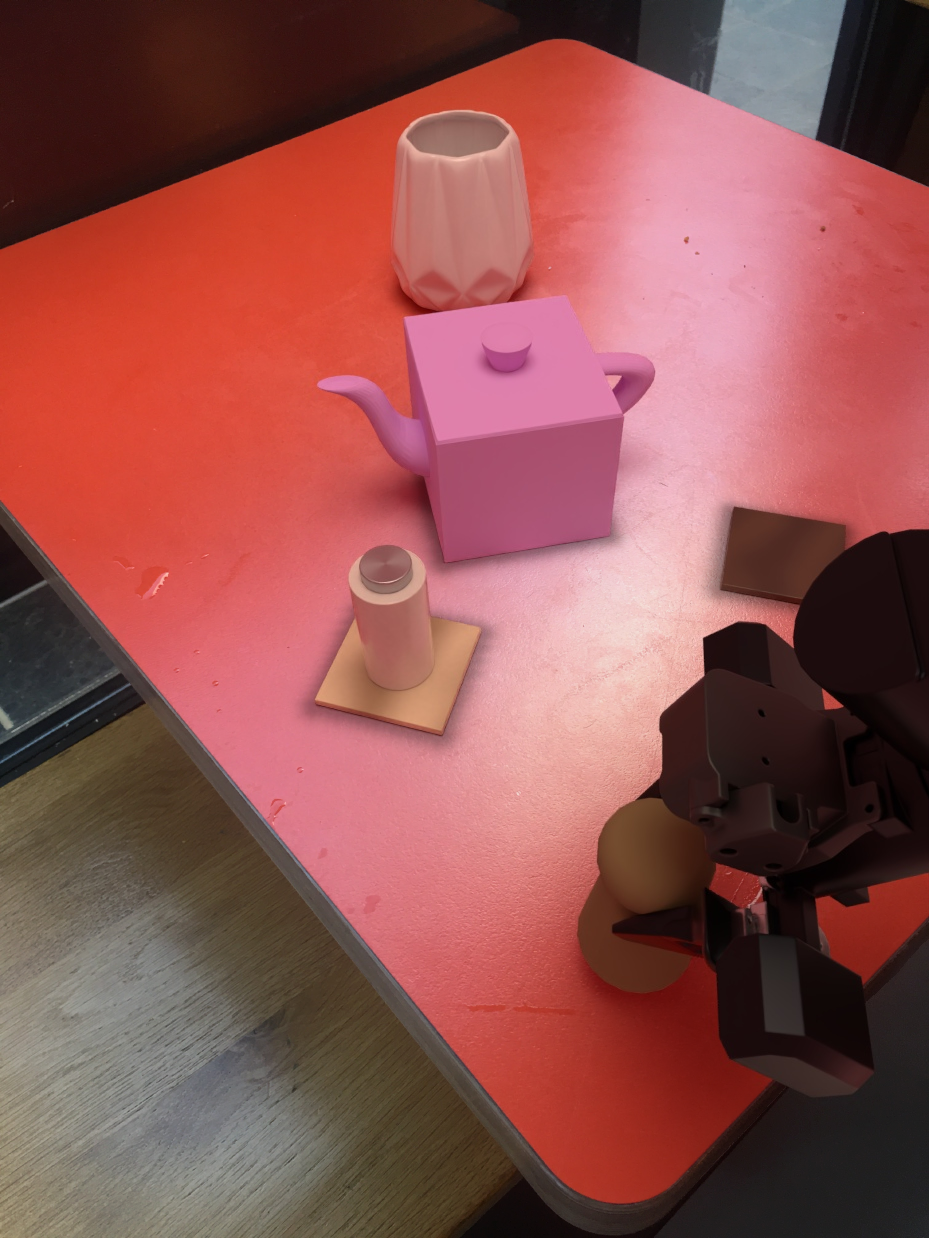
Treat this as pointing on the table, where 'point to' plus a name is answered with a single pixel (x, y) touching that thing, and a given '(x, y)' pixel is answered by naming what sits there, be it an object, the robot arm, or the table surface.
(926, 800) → the robot arm
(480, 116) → the vase
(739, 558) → the dark mat
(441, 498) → the teapot
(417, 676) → the salt shaker
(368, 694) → the pale mat
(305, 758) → the table surface
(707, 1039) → the table surface
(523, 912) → the table surface
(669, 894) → the cork
